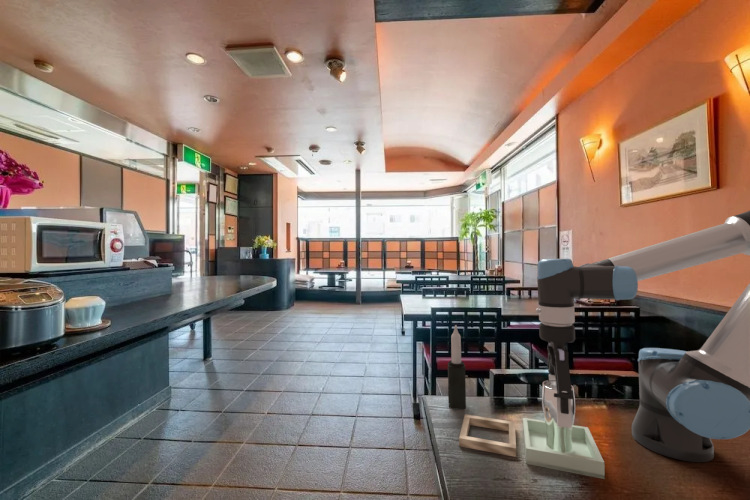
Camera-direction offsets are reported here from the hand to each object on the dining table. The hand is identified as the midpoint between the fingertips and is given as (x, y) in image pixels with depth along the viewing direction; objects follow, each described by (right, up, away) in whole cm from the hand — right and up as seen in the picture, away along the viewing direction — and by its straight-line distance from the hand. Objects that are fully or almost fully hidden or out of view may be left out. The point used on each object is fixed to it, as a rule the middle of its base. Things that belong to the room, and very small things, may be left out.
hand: (559, 412), depth 80 cm
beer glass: (0, -9, 0) cm, 9 cm away
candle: (-18, -10, +25) cm, 33 cm away
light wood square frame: (-15, -10, +7) cm, 19 cm away
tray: (0, -9, 0) cm, 9 cm away
